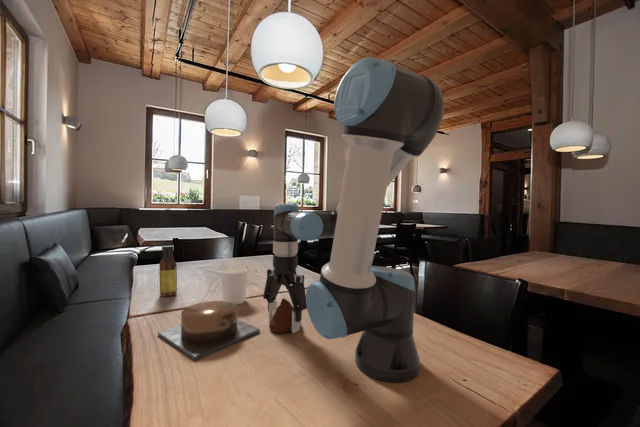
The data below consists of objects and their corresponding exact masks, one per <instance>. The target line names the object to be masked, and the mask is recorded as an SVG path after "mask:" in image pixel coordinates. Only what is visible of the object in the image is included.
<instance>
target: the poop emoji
mask: <svg viewBox="0 0 640 427" xmlns="http://www.w3.org/2000/svg"><path fill="white" fill-rule="evenodd" d="M293 310H294V307H293V304H292V302H290V301H289V300H288V299H286V298H282V299H281V301H280V304H279V305H277V309H273V311H272V316H273V319H272V320H271V321H270V324H269V323H268V325H269V326H268V327H269V330H270V331H271V332H272V333H275V334H280V335H281V334H286V333H289V332H292V311H293ZM301 322H302V320H301V321H300V326H301V325H302V324H301Z"/></svg>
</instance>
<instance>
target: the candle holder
mask: <svg viewBox="0 0 640 427" xmlns="http://www.w3.org/2000/svg"><path fill="white" fill-rule="evenodd" d="M248 272H249V271H248V269H247V268H244V267H229V268H224V269H222V270H221V271H220V274H221V296H222V301H225V302H230V303H233V304H235V305H236V306H238V305H239V304H240V305H241V304H243V303H245V301H246V296H247V282H248Z"/></svg>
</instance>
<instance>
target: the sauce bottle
mask: <svg viewBox="0 0 640 427" xmlns="http://www.w3.org/2000/svg"><path fill="white" fill-rule="evenodd" d="M161 251H162V255H161V256H162V258H161V260H160V261H159V272H158V274H159V276H158V277H159V295H160V296H161V297H163V298H164V297H165V298H166V297H167V298H168V297H172V296H175V295H176V294H177V292H178V280H177V279H178V272H177V268H178V267H177V266H178V265H177V262H176V261H175V258H174V245H163V246H161Z"/></svg>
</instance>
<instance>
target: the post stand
mask: <svg viewBox="0 0 640 427" xmlns="http://www.w3.org/2000/svg"><path fill="white" fill-rule="evenodd" d="M180 315H181V316H180V321H181V322H180V323H181V324H178V325H175V326H173V327H170V328H167V329H162V330H160V331H157V336H158V337H159V338H161V339H162V340H164V341H165V342H167V343H168V344H169V345H171V346H172V347H173V348H175V349H176V350H178V351H179V352H181V353H183V354H184V355H185V356H187V357H188V358H190V359H192V360H193V361H197V360H199V359H200V360H201V359H202V358H203V357H206V356H208V355H211V354H213V353H215V352H218V351H220V350H222V349H225V348H227V347H230V346H232V345H234V344H236V343H238V342H241V341H243V340H245V339H248V338H249V337H250V338H251V337H252V336H255V335H257V334H259V333H260V332H261V329H260V328H258V327H256V326H254V325H251V324H250V323H247V322H244V321H243V320H240V319H238V305H235V304H233V303H230V302H225V301H223V300H212V301H203V302H198V303H195V304H193V305H190V306H188V307H186V308H184V309H183V310H182V311H181V314H180Z"/></svg>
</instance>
